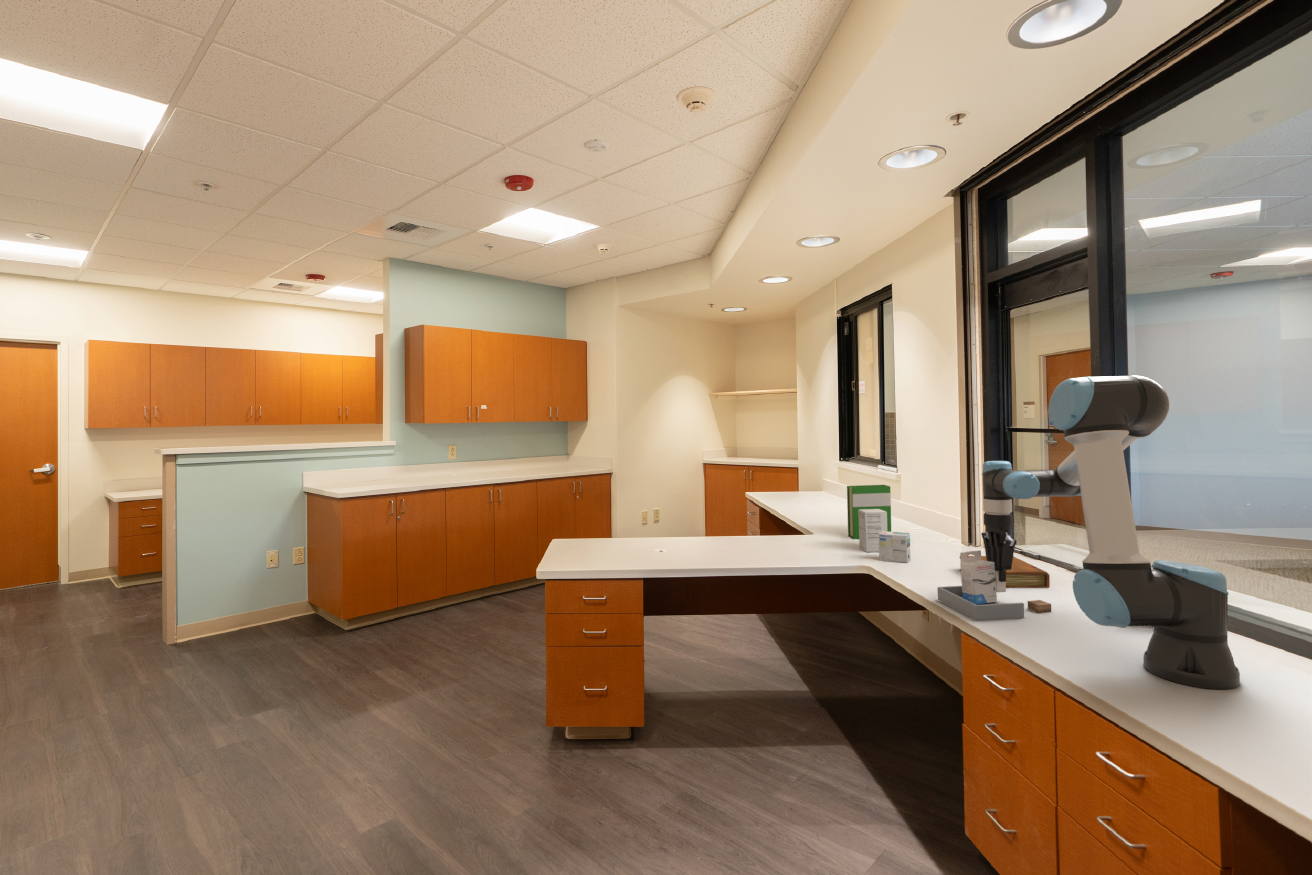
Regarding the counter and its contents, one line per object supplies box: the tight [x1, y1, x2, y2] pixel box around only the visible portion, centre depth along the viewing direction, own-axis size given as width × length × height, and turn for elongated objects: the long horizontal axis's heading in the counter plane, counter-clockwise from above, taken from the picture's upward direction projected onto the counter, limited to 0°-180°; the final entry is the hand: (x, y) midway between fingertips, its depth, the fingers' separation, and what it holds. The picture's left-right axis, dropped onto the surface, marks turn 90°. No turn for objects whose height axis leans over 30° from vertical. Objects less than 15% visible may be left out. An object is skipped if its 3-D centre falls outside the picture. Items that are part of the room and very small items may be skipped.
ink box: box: [959, 550, 998, 605], centre depth 177 cm, size 8×5×15 cm, turn 109°
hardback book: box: [846, 484, 892, 540], centre depth 277 cm, size 18×7×24 cm, turn 91°
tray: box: [937, 585, 1025, 622], centre depth 171 cm, size 19×14×4 cm
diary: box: [959, 555, 1051, 589], centre depth 202 cm, size 23×19×6 cm
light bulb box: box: [878, 531, 912, 564], centre depth 232 cm, size 11×7×11 cm, turn 58°
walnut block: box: [1027, 599, 1052, 614], centre depth 168 cm, size 4×4×2 cm
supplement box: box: [858, 509, 887, 553], centre depth 251 cm, size 10×9×17 cm
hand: (999, 591), depth 177 cm, fingers closed
